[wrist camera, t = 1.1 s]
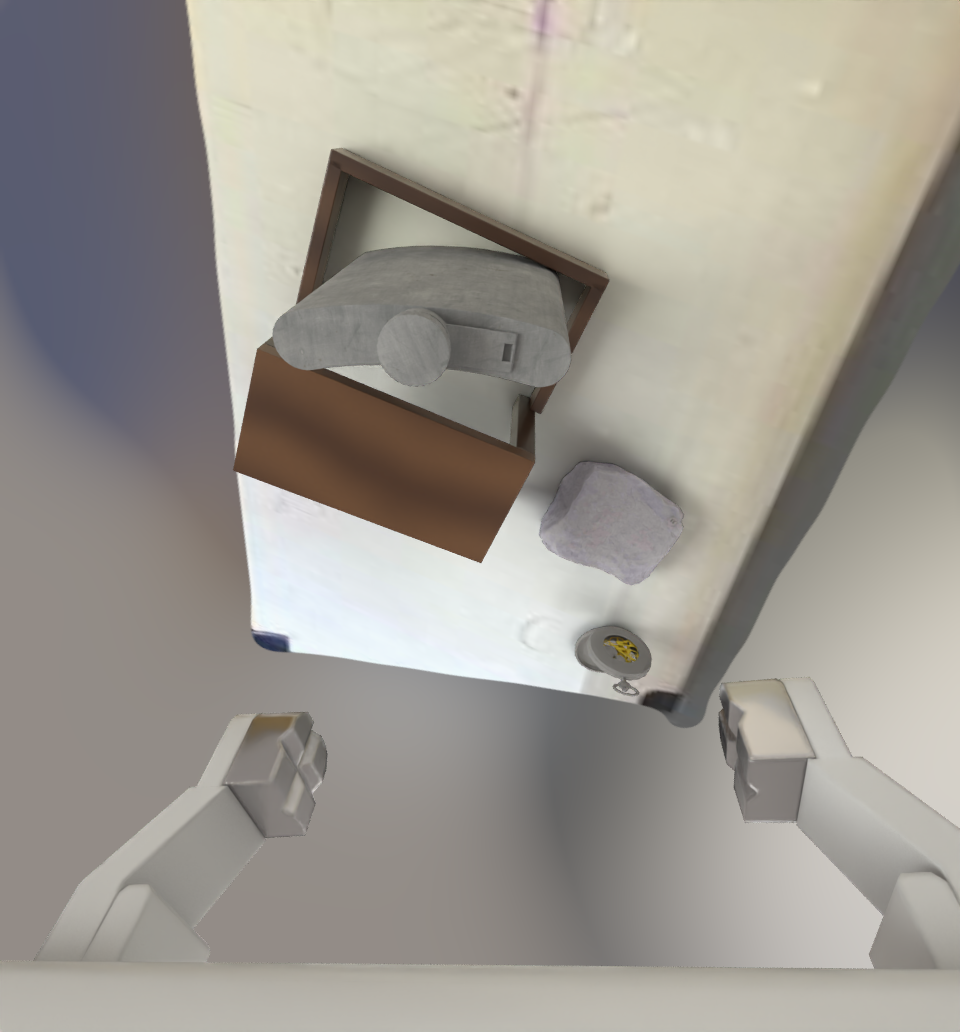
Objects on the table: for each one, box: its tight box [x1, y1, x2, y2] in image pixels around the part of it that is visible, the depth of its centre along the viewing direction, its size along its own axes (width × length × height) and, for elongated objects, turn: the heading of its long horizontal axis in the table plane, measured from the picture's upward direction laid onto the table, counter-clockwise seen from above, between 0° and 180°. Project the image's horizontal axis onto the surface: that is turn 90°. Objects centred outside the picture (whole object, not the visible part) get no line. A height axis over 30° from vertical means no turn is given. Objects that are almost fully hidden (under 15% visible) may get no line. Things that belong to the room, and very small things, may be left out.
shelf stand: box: [233, 148, 609, 563], centre depth 44 cm, size 22×21×11 cm
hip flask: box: [273, 246, 571, 387], centre depth 37 cm, size 16×4×20 cm, turn 87°
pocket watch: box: [575, 626, 652, 696], centre depth 62 cm, size 8×8×10 cm
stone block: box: [539, 461, 684, 585], centre depth 55 cm, size 12×5×10 cm
